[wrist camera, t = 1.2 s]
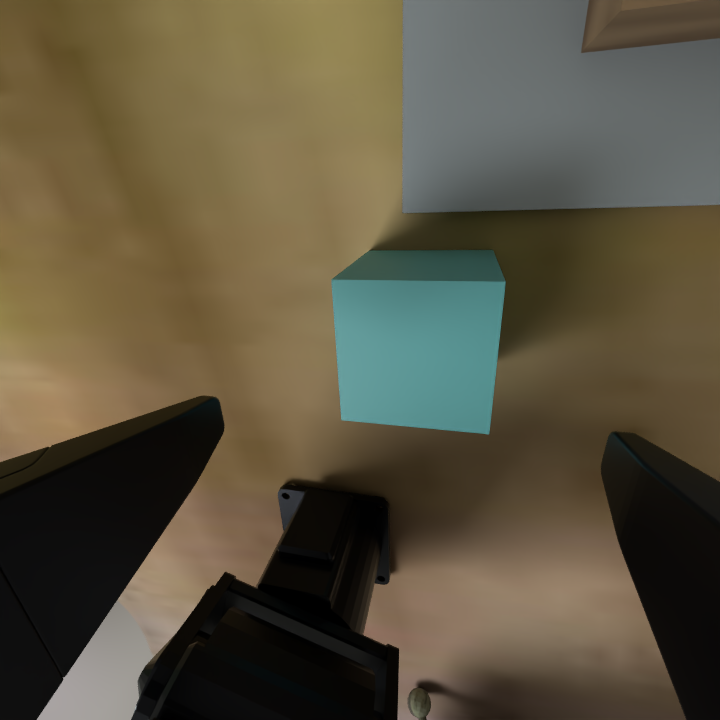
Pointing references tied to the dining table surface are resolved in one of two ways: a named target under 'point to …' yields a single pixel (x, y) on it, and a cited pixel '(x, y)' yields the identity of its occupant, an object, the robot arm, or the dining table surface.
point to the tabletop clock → (419, 703)
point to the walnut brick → (648, 23)
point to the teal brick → (419, 338)
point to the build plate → (551, 112)
